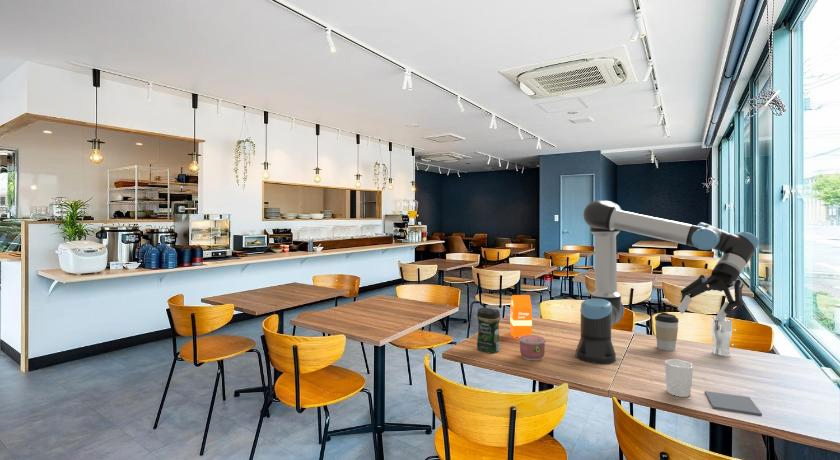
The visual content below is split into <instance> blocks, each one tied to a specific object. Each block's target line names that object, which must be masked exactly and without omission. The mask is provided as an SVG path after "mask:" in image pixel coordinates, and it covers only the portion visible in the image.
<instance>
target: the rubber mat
mask: <svg viewBox="0 0 840 460" xmlns="http://www.w3.org/2000/svg"><path fill="white" fill-rule="evenodd" d="M704 394H705V396H706V398H707V400H708V401H709V403H710V405H711V407H712V409H714V410H715V409H716V410H722V411H729V412H733V413H735V412H736V413H742V414H747V415H748V414H749V415H755V416H763V414H762V412H761V411H760V409H759V408H758V406H757V405H756V403H754V402H753V400H752V399H751V397H750V396H745V395H744V396H743V395H737V394H730V393H721V392H715V391H707V390H705V391H704Z"/></svg>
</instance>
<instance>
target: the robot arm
mask: <svg viewBox="0 0 840 460" xmlns="http://www.w3.org/2000/svg"><path fill="white" fill-rule="evenodd" d="M582 216H583V220H584V222H585V223H586V224H587V226H589V227H590V233H591V234H592V235H593V236H594V277H595V279H594V282H595V283H594V284H595V285H594V286H595V290H594V291H593V292H592V293H591V298H587V299H584V300H583V301H582V302H581V304H580V310H579V311H580V338H579V341H578V344H577V347H576V349H575V356H576V358H578V359H579V360H581V361H584V362H588V363H592V364H605V365H606V364H612V363H614V362H615V361H616V360H617V359H616V357H617V354H616V352H615V348H614V346H613V342H612V326H614V325H616V324H618V323H619V322H620V321H621V320H622V318H623V316H624V313H625V307H624V304H623V303H622V295H621V294H620V292H619V291H618V280H617V279H618V278H617V274H618V273H617V271H618V270H617V265H618V264H617V235H618V234H619V233H620V232H621V231H624V232H627V233H633V234H637V235H641V236H646V237H650V238H655V239H659V240H664V241H666V242H667V241H668V242H672V243H676V244H681V245H686V246H689V247H694V248H697V249H698V250H700V251H701V250H703V251H709V250H715V251H718V252H720V253H723V254H722V255H721V257H720V258H719V259H718V261H717V263H716V265H715V266H714V267H713V269H712V270H711V273H710V276H708V277H707V276H705V275H704V274H700V276H699V277H698V278H697V279H695V280H694V281H693V282H691V283H690V284H688V285H687V286H685V287H684V288H683V289H681V290H680V293H681V295H682V298H681V300H680V304H679V305H678V307H677V308H676V309H677V310H678V312H680V314H684V313H685V311H686V310H687V308H688V307H689V306H690V304H691V303H692V301H693V299H692V298H695V297H697V296H699V295H701V294H703V293H705V292H709V291H718V292H722V291H723V294H725V297H726V299H727V301H725V302H724V303H723V305H722V306H721V308H720V309H719V311H718V313H717V315H716V316H715V317H716V318H717V319H718V321H719V322H721V323H722V322H723V320H724V318H727V317H726V316H727V315H731V312H733V310H734V308H736V307H739V308H741V307H743V305H744V304H743V303H744V302H743V291H742V290H743V287H744V283H742V281H741V280H740V279H739V277H740V275H741V274H742V272H743V270H744V269H745V267H746V266H747V264H748V262H749V261H750V260H751V258H752V256H753V255H754V254H755V252H756V250H757V248H758V246H759V243H760V241H759V239H758V237H757V236H756V235H754V234H753V233H751V232H745V231H739V232H737V233H736V234H734V233H729V232H727V231H725V230H723V229H721V228H718V227H717V226H716V227H715V226H713V225H711V224H708V223H705V222H702V221H701V222H699V223H698V224H697V225H694V224H690V223H685V222H680V221H676V220H670V219H665V218H660V217H654V216H651V215H645V214H639V213H635V212H631V211H625V210H622V208H621V206H620V205H618V204H617V203H616V202H614V201H611V200H594V201H592V202H589V203H588V204H587V205H586V206H585V207H584V210H583V213H582ZM731 287H733V289H734V298H733V296H732V293H731V291H730V289H729V288H731Z"/></svg>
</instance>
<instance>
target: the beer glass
mask: <svg viewBox="0 0 840 460" xmlns="http://www.w3.org/2000/svg"><path fill="white" fill-rule="evenodd" d="M711 318H712V319H711V335H712V337H711V338H712V343H713V347H712V353H711V354H713V355H714V354H715V356H719V357H725V358H727V357H730V356H731V353H730V343H731V339H732V334H733V323H732V319H731V318H728V317H725V318H724V320H723V322H722V323H721V322H719V321H718V319H717V318H716V316H713V317H711Z"/></svg>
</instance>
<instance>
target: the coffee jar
mask: <svg viewBox="0 0 840 460" xmlns="http://www.w3.org/2000/svg"><path fill="white" fill-rule="evenodd" d="M476 319H477V321H478V323H477V324H478V331H477V332H478V333H477V342H476V349H477V350H478V351H480V350H481V351H480V352H483V351H484V352H485V353H488V352H489V353H488V354H495V353H494V352H496V353H497V352H500V350H501V343H500V342H501V341H500V329H499V328H500V326H499V325H500V321H501V314H500V310H499V309H497V308H490V307H485V306H482V307H479V308H478V309H477V313H476Z"/></svg>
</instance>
